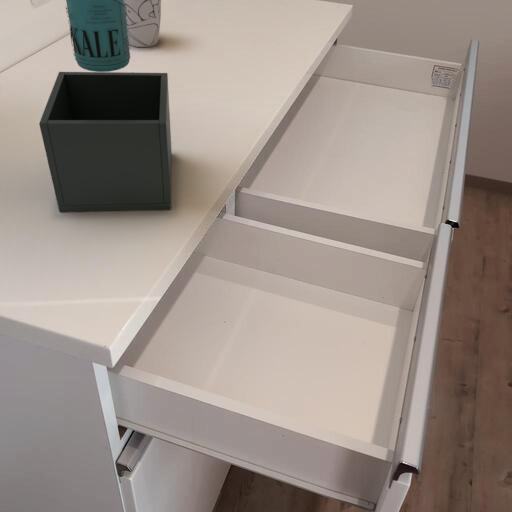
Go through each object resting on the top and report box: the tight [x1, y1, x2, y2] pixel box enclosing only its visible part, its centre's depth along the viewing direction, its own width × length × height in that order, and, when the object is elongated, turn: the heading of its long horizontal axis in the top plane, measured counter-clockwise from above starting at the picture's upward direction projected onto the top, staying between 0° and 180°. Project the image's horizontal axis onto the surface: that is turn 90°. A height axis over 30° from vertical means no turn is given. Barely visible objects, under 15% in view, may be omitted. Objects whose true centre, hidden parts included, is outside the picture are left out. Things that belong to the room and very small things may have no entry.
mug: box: [124, 0, 162, 48], centre depth 107 cm, size 11×8×10 cm
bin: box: [39, 71, 173, 213], centre depth 69 cm, size 14×14×12 cm
